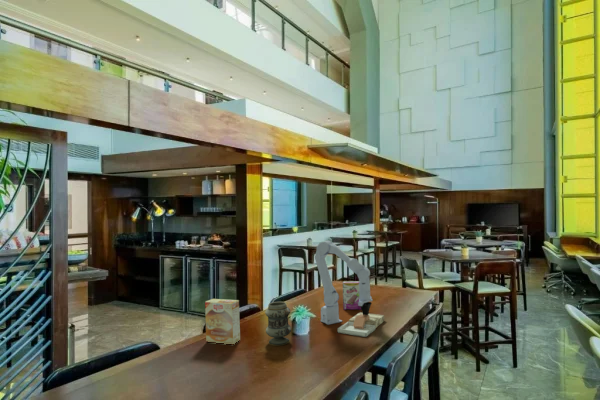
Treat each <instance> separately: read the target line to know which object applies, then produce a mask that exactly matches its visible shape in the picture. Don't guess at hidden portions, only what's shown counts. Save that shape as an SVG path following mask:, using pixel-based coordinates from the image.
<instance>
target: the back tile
mask: <svg viewBox="0 0 600 400" xmlns="http://www.w3.org/2000/svg"><path fill="white" fill-rule="evenodd" d="M357 317H361V318H365V319H366V321H368V320H369V319H370V315H363V314H360V315H358V316H357Z"/></svg>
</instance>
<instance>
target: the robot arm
mask: <svg viewBox="0 0 600 400" xmlns="http://www.w3.org/2000/svg"><path fill="white" fill-rule="evenodd" d="M315 249H316V251H315V256H314V260H315V263H316V267H317V270H318V273H319V276H320V280H321V284H322V288H323V302H324V304H325V305H324V306H322V307H320V322H322V323H324V324H326V325H328V326H329V325H333V324H338V323H342V322H343V320H342V319H340V311H339V302H338V301H340V296H339V295H340V294H339V293H338V292H337V290H336V288H335V287H334V285H333V281H332V278H331V276H330V272H329V267H328V264H327V262H326V257H327V255H328V254H334V255H336V257H338V258H340V259H341V260H342V261H344V262H345V263H346V267H347V268H349V270H350V271H352V272H353V273H355V275H357V278H358V281H359V296H360V299H359V302H358V306H360V307H361V310H360V311H362V312H361V313H363V315H368V314H369V313H370V308H371V305H372V302H373V301H374V300H373V298H372V296H371V285H370V283H371V282H370V281H371V280H370V276H371V271H370V269H369V268H368V267H366V266H365V265H364V264H361V263H360V261H358V259H357V258H354V257H349V255H347V254H346V252H344V251H343V250H342V249H341V248H340V247H339V246H337V244H336V243H334V242H332V240H328V239H327V240H324V241H321V242H319V243H318V245H317V246H316V248H315Z"/></svg>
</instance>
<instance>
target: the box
mask: <svg viewBox="0 0 600 400" xmlns="http://www.w3.org/2000/svg"><path fill="white" fill-rule="evenodd" d="M353 324H354V322H349V321H347V322H345V323H344V324H342V325H340V326H339V327H337V333H338V334H344V335H351V336H355V337H364V338H367V337H368V336H369V335H371V334H372V333H373V332H374V331H375V330H376V328H375V325H370V324H365V325H364V329H361V328H354V326H353Z"/></svg>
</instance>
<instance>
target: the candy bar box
mask: <svg viewBox="0 0 600 400" xmlns="http://www.w3.org/2000/svg"><path fill="white" fill-rule="evenodd" d="M359 299H360V296H359V280H357V281H355V280H354V281H351V280H349V281H348V280H347V281H345V280H344V281H342V306H343V307H342V309H343V310H344V311H346V310H347V311H348V310H352V311H353V310H354V311H355V310H357V311H359V310H360V311H362V310H361V307H360V306H358V302H359Z"/></svg>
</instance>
